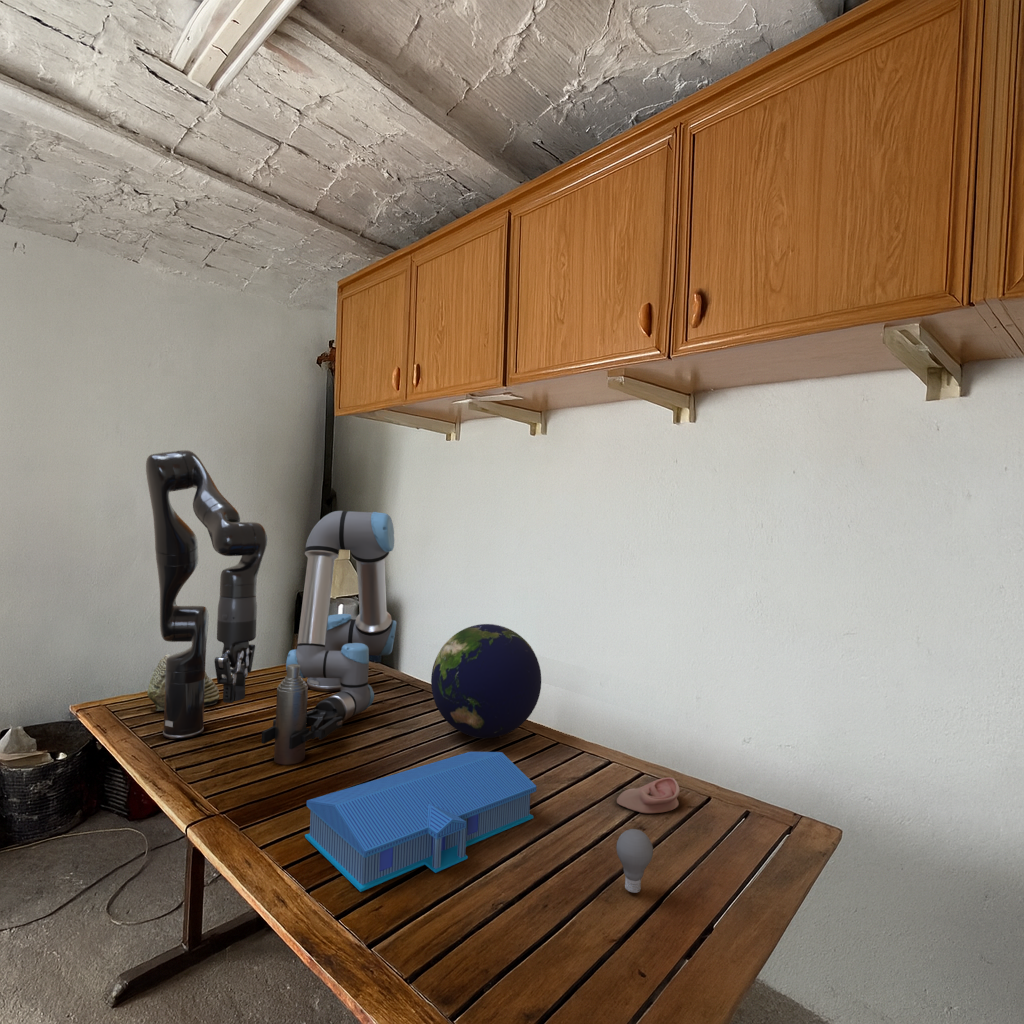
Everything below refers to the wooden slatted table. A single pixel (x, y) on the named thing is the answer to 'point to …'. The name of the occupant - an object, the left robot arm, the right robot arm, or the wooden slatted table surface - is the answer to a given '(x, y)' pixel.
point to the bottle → (290, 716)
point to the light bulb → (634, 857)
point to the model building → (419, 816)
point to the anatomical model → (652, 796)
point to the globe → (486, 681)
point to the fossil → (158, 687)
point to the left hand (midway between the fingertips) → (234, 698)
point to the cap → (239, 693)
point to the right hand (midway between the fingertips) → (276, 740)
